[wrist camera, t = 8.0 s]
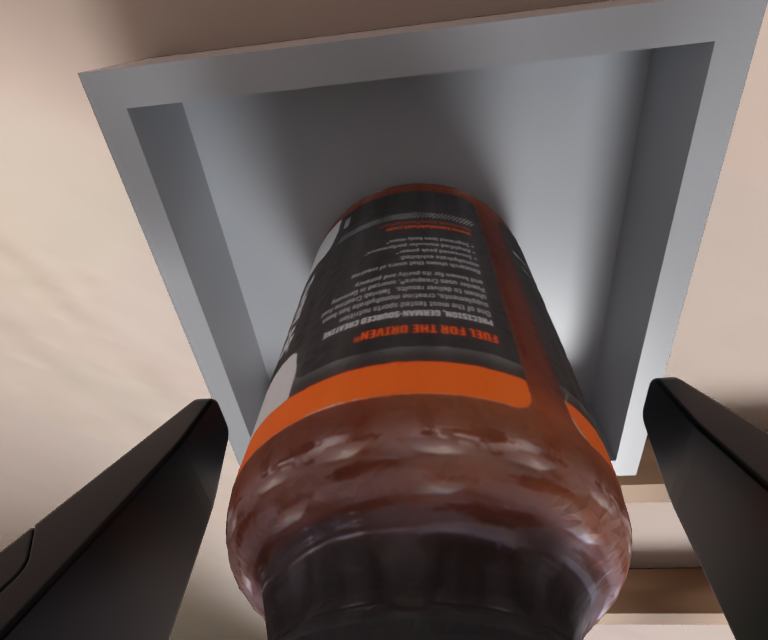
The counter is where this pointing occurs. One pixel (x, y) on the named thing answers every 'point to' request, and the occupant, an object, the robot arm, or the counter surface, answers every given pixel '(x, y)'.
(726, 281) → the counter surface
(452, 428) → the supplement bottle
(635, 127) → the tray
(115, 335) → the counter surface
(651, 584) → the brown wooden square frame
